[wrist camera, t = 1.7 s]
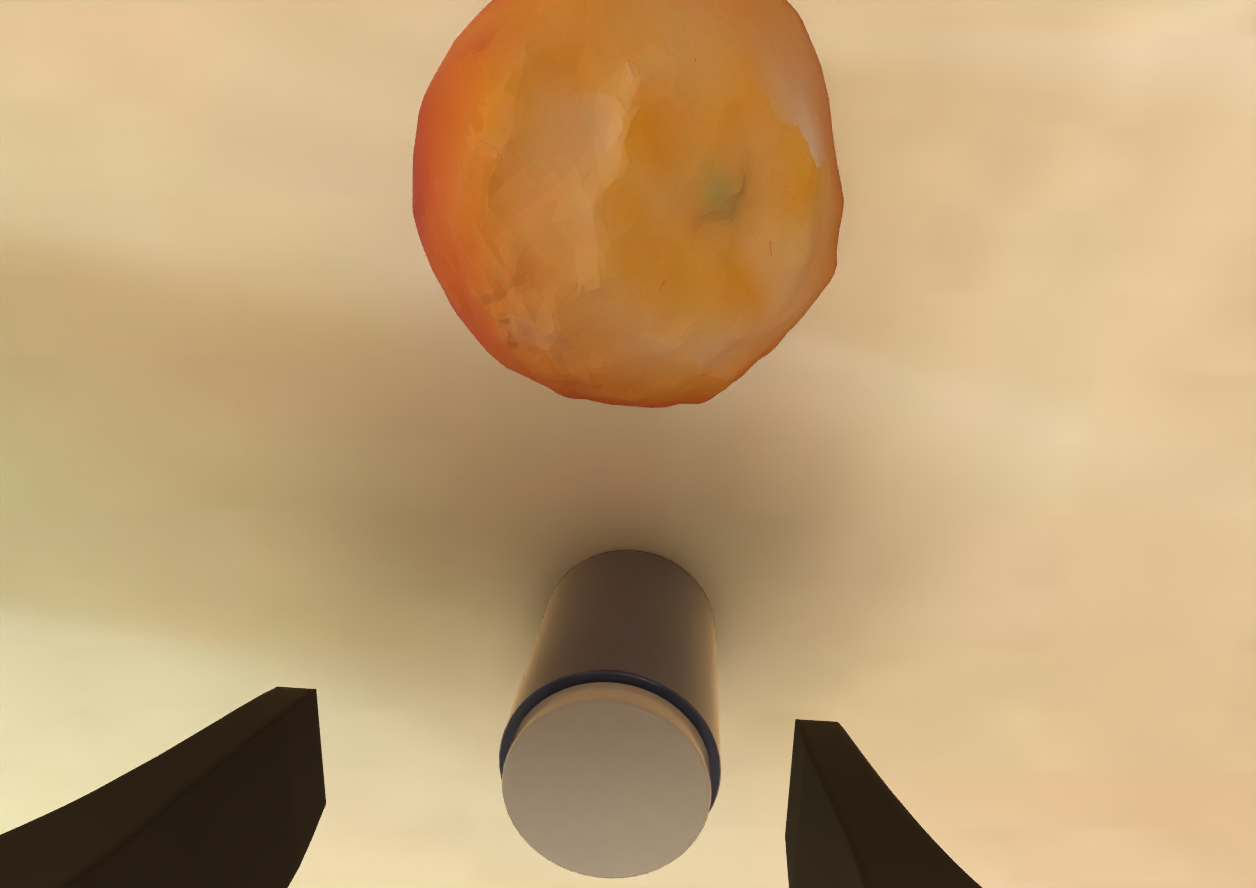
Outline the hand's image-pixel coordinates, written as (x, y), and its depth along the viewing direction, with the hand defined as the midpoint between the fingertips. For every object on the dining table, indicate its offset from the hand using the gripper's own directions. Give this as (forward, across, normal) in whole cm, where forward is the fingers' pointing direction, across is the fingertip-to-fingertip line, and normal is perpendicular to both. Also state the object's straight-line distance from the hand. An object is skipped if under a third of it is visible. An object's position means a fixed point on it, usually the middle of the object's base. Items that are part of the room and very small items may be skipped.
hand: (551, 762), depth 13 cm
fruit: (+10, 0, -8) cm, 13 cm away
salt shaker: (+10, 0, +3) cm, 10 cm away
